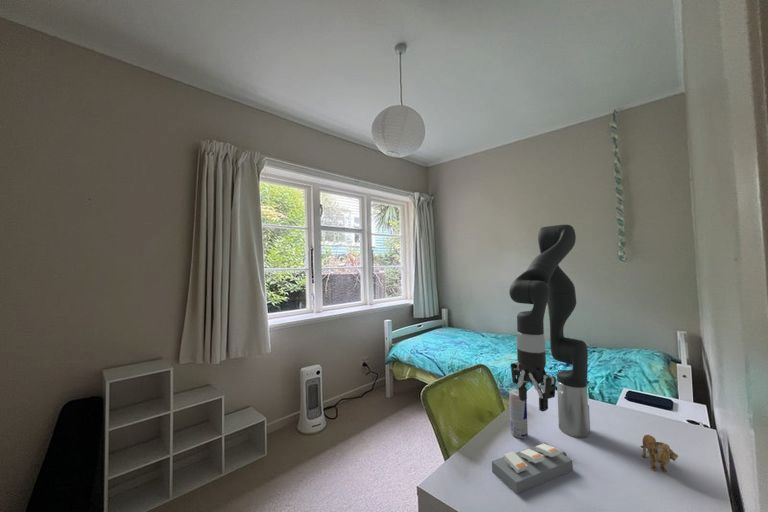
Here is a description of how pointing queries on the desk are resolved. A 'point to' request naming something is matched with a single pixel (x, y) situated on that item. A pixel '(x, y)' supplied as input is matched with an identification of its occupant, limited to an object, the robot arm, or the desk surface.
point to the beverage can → (518, 415)
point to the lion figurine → (657, 452)
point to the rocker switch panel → (532, 471)
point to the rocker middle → (532, 455)
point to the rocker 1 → (515, 462)
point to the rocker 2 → (547, 450)
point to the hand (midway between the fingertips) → (532, 404)
